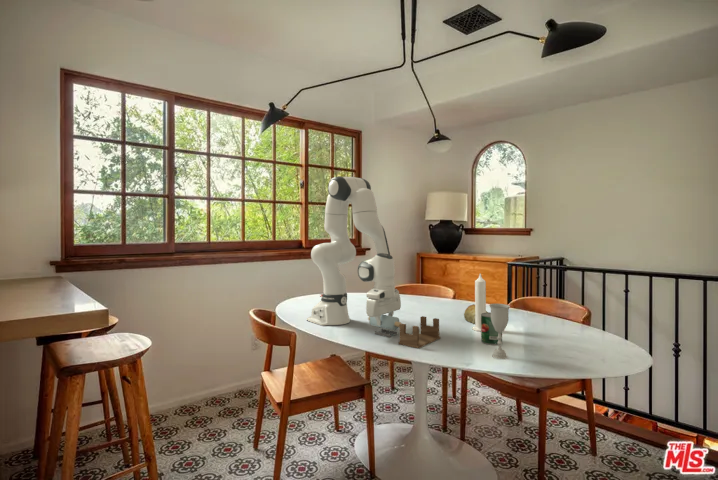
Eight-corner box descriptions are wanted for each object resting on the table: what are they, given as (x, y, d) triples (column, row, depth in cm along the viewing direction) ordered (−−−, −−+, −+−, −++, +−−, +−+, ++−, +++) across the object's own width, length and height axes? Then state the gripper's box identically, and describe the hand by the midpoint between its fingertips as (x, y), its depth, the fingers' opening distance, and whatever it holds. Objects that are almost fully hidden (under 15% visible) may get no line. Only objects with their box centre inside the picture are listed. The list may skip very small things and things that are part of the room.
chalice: (486, 353, 142) (485, 303, 142) (504, 352, 143) (504, 303, 142) (494, 360, 135) (494, 308, 135) (514, 359, 136) (513, 307, 135)
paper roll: (365, 325, 174) (365, 313, 173) (373, 323, 178) (373, 311, 178) (396, 332, 163) (396, 319, 163) (403, 329, 167) (403, 317, 167)
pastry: (469, 317, 200) (469, 301, 200) (494, 320, 193) (494, 303, 192) (459, 323, 188) (459, 306, 188) (485, 326, 181) (485, 309, 181)
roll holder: (418, 348, 150) (418, 327, 149) (398, 344, 156) (398, 324, 155) (440, 338, 163) (440, 319, 162) (421, 334, 169) (421, 316, 168)
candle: (490, 332, 171) (489, 274, 170) (473, 331, 172) (472, 274, 171) (488, 327, 178) (487, 272, 177) (471, 327, 179) (471, 272, 178)
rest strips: (374, 334, 171) (374, 331, 171) (382, 331, 175) (382, 328, 175) (389, 337, 166) (389, 334, 166) (397, 334, 170) (397, 331, 170)
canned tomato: (476, 340, 158) (476, 313, 158) (492, 338, 162) (492, 311, 161) (490, 346, 151) (490, 317, 151) (506, 343, 154) (506, 315, 154)
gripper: (392, 287, 180) (392, 317, 180) (363, 294, 164) (363, 326, 165) (404, 289, 175) (404, 320, 176) (375, 295, 160) (375, 329, 161)
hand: (384, 323), depth 170 cm, fingers closed on paper roll, 5 cm apart
